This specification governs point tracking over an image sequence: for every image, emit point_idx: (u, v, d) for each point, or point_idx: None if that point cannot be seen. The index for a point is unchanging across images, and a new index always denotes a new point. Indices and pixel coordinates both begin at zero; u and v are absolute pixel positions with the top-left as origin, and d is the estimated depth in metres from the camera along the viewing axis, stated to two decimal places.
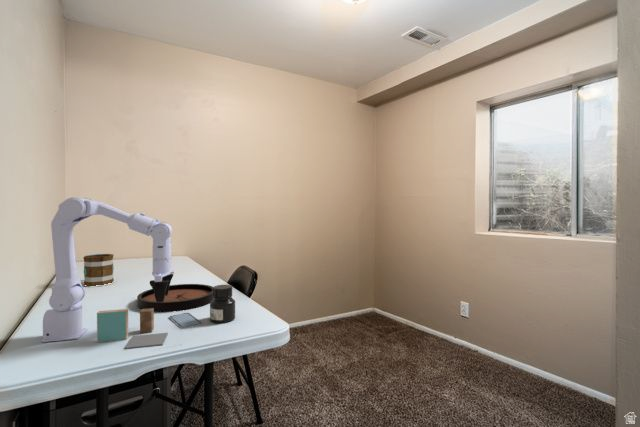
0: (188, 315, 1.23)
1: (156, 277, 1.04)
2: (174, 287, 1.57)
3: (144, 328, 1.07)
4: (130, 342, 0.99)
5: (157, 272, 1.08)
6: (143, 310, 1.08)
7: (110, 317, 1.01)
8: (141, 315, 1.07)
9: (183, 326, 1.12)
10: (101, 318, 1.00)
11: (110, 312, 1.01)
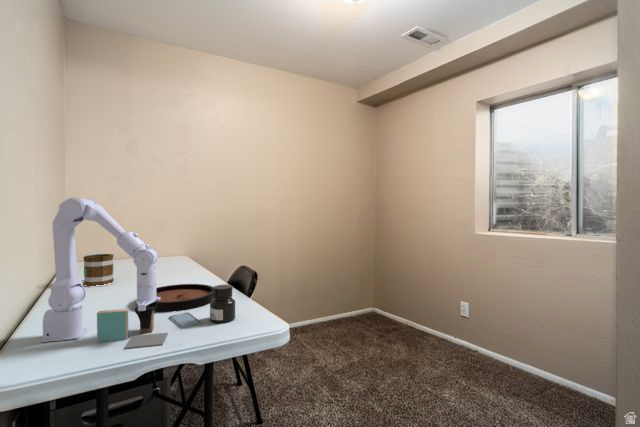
0: (188, 315, 1.23)
1: (139, 306, 1.02)
2: (174, 287, 1.57)
3: None
4: (130, 342, 0.99)
5: (141, 300, 1.06)
6: None
7: (110, 317, 1.01)
8: None
9: (183, 326, 1.12)
10: (101, 318, 1.00)
11: (110, 312, 1.01)
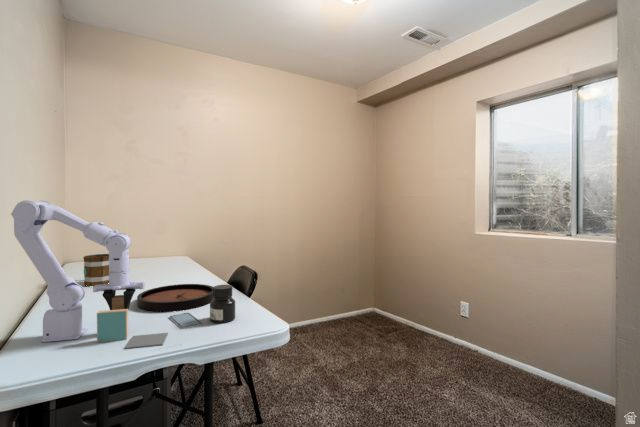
0: (188, 315, 1.23)
1: None
2: (174, 287, 1.57)
3: None
4: (130, 342, 0.99)
5: None
6: (119, 295, 1.09)
7: (110, 317, 1.01)
8: None
9: (183, 326, 1.12)
10: (101, 318, 1.00)
11: (110, 312, 1.01)
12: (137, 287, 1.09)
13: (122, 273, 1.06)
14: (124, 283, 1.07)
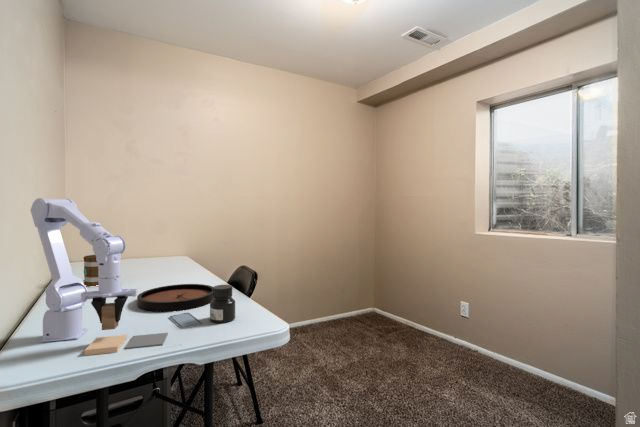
0: (188, 315, 1.23)
1: None
2: (174, 287, 1.57)
3: None
4: (130, 342, 0.99)
5: None
6: (110, 303, 1.00)
7: None
8: None
9: (183, 326, 1.12)
10: None
11: None
12: (129, 294, 1.01)
13: (113, 279, 0.97)
14: (115, 290, 0.98)
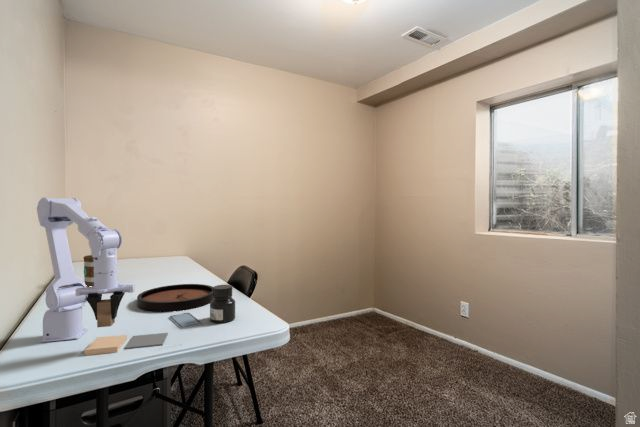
0: (188, 315, 1.23)
1: None
2: (174, 287, 1.57)
3: None
4: (130, 342, 0.99)
5: None
6: (106, 299, 0.96)
7: None
8: None
9: (183, 326, 1.12)
10: None
11: None
12: (126, 290, 0.97)
13: (109, 274, 0.94)
14: (111, 286, 0.94)
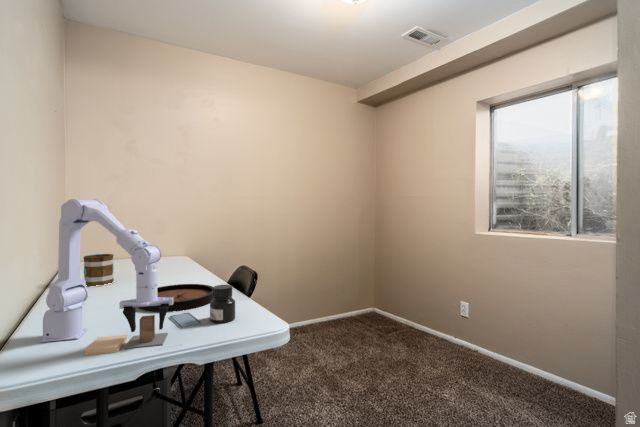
0: (188, 315, 1.23)
1: None
2: (174, 287, 1.57)
3: None
4: (130, 342, 0.99)
5: None
6: (147, 316, 1.01)
7: None
8: None
9: (183, 326, 1.12)
10: None
11: None
12: (166, 303, 1.02)
13: (150, 288, 0.99)
14: (152, 299, 0.99)
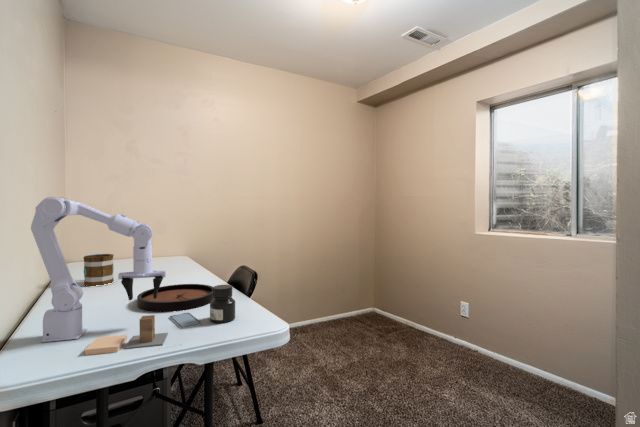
0: (188, 315, 1.23)
1: None
2: (174, 287, 1.57)
3: None
4: (130, 342, 0.99)
5: None
6: (147, 316, 1.01)
7: None
8: None
9: (183, 326, 1.12)
10: None
11: None
12: (159, 275, 1.14)
13: (146, 261, 1.11)
14: (147, 271, 1.12)
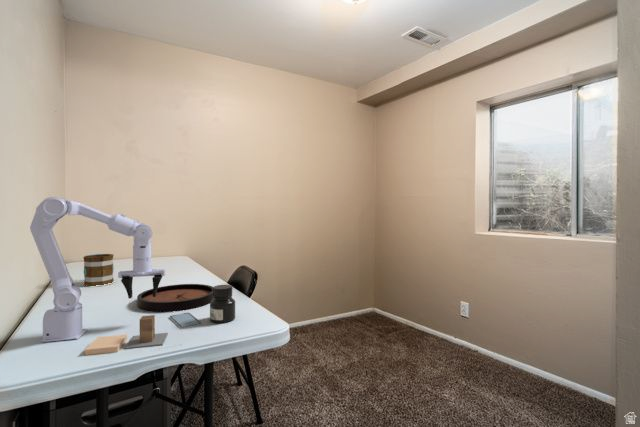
0: (188, 315, 1.23)
1: None
2: (174, 287, 1.57)
3: None
4: (130, 342, 0.99)
5: None
6: (147, 316, 1.01)
7: None
8: None
9: (183, 326, 1.12)
10: None
11: None
12: (159, 274, 1.17)
13: (145, 260, 1.13)
14: (147, 270, 1.14)
